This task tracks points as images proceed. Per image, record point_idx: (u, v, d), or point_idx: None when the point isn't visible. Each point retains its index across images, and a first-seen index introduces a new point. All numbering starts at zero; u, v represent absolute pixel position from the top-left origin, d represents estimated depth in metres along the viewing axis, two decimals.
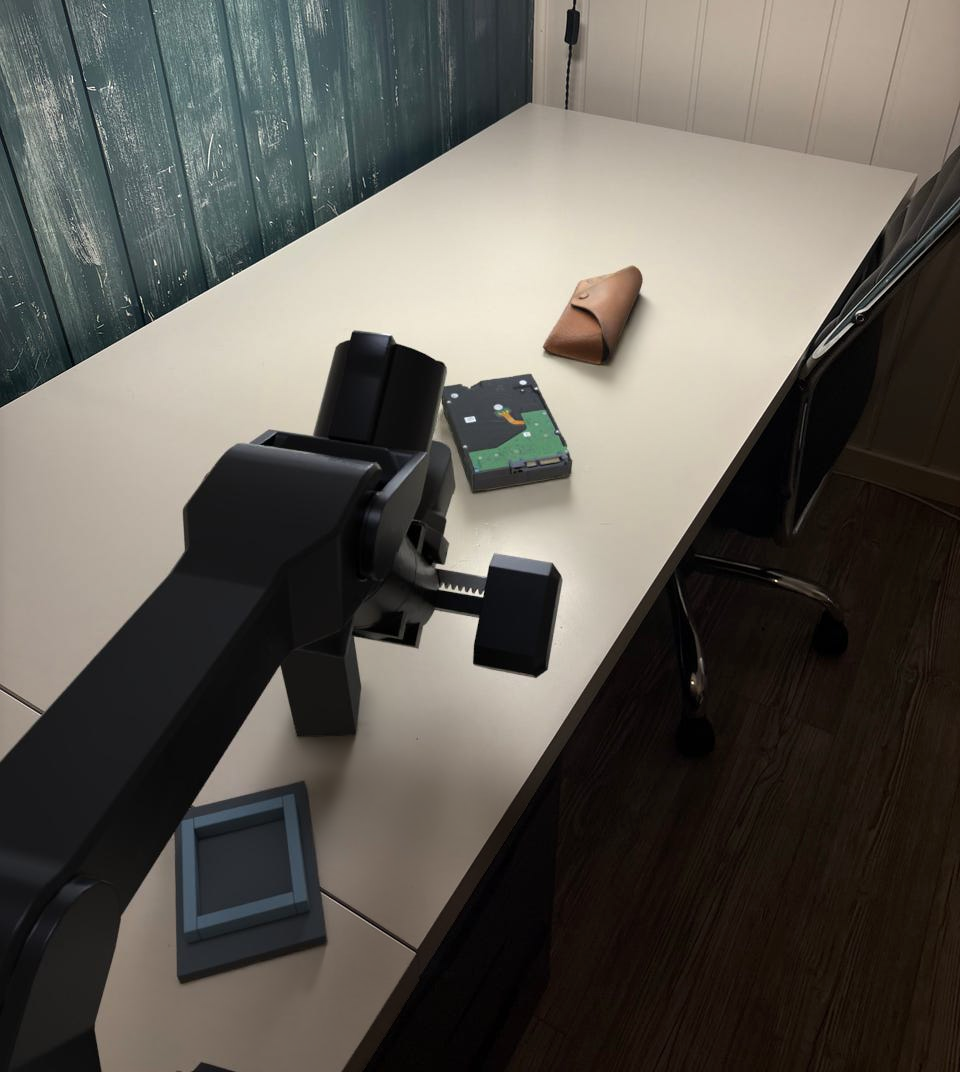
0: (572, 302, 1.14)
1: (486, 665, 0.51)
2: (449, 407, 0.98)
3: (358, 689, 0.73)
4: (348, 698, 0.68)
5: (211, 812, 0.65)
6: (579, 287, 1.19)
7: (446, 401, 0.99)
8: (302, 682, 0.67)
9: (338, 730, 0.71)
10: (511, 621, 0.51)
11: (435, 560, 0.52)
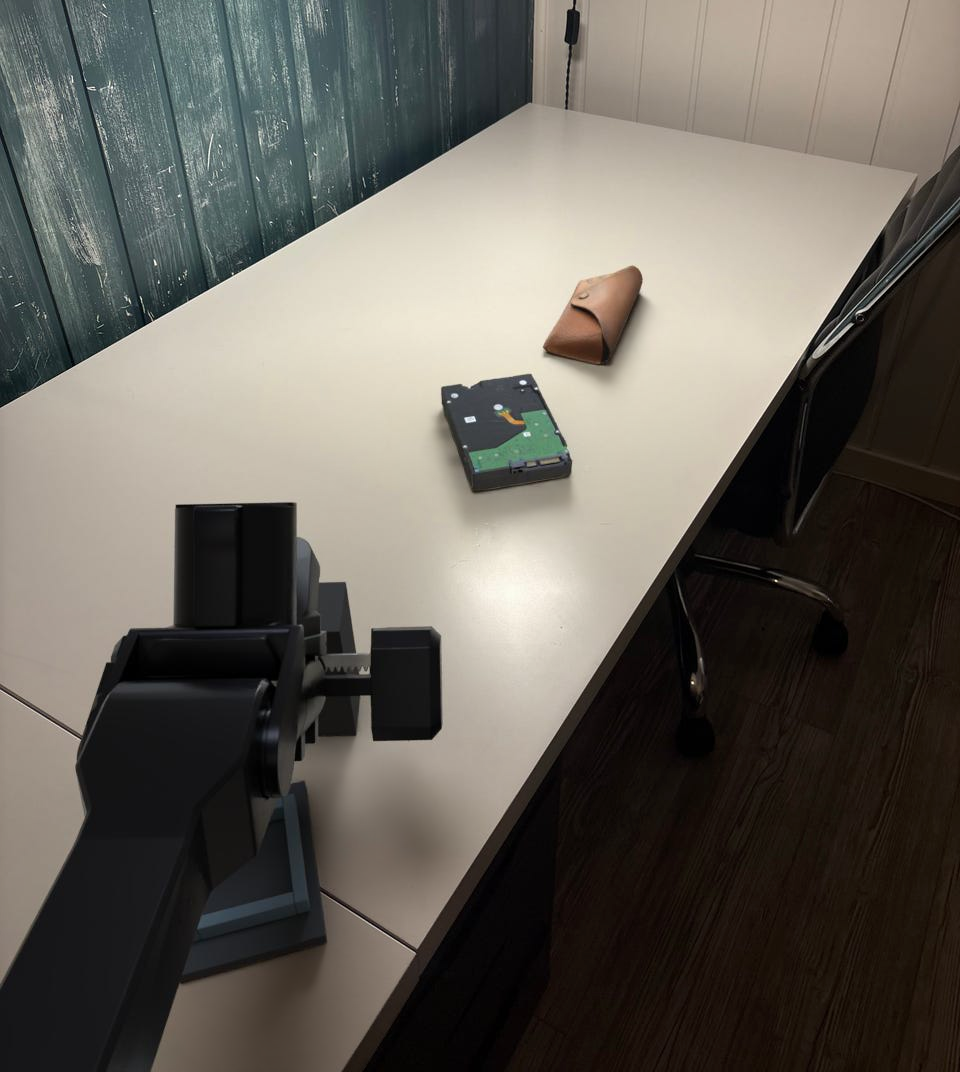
0: (572, 302, 1.14)
1: (386, 740, 0.54)
2: (449, 407, 0.98)
3: None
4: (348, 698, 0.68)
5: None
6: (579, 287, 1.19)
7: (446, 401, 0.99)
8: None
9: (338, 730, 0.71)
10: (402, 698, 0.53)
11: None
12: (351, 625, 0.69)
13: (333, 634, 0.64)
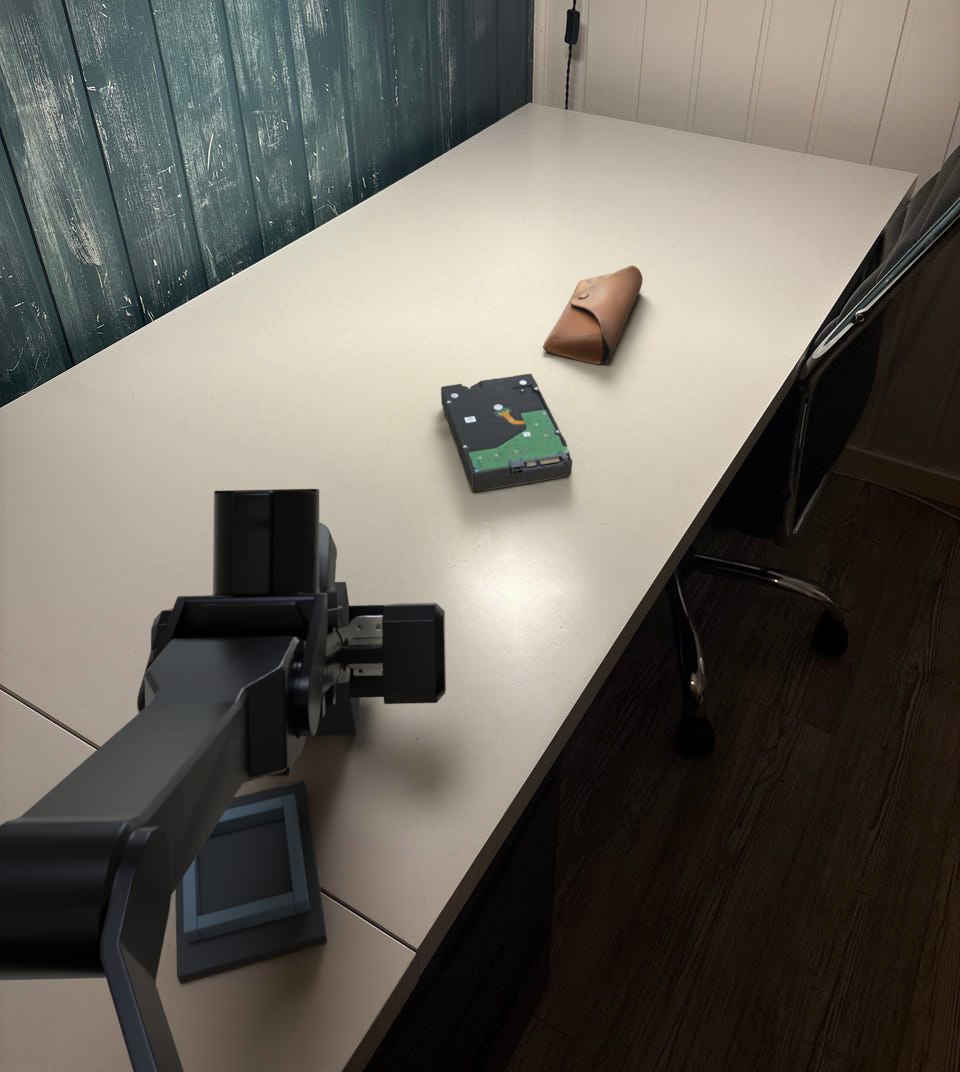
0: (572, 302, 1.14)
1: (396, 703, 0.60)
2: (449, 407, 0.98)
3: None
4: (348, 698, 0.68)
5: None
6: (579, 287, 1.19)
7: (446, 401, 0.99)
8: None
9: (338, 730, 0.71)
10: (410, 665, 0.60)
11: (335, 627, 0.59)
12: None
13: None
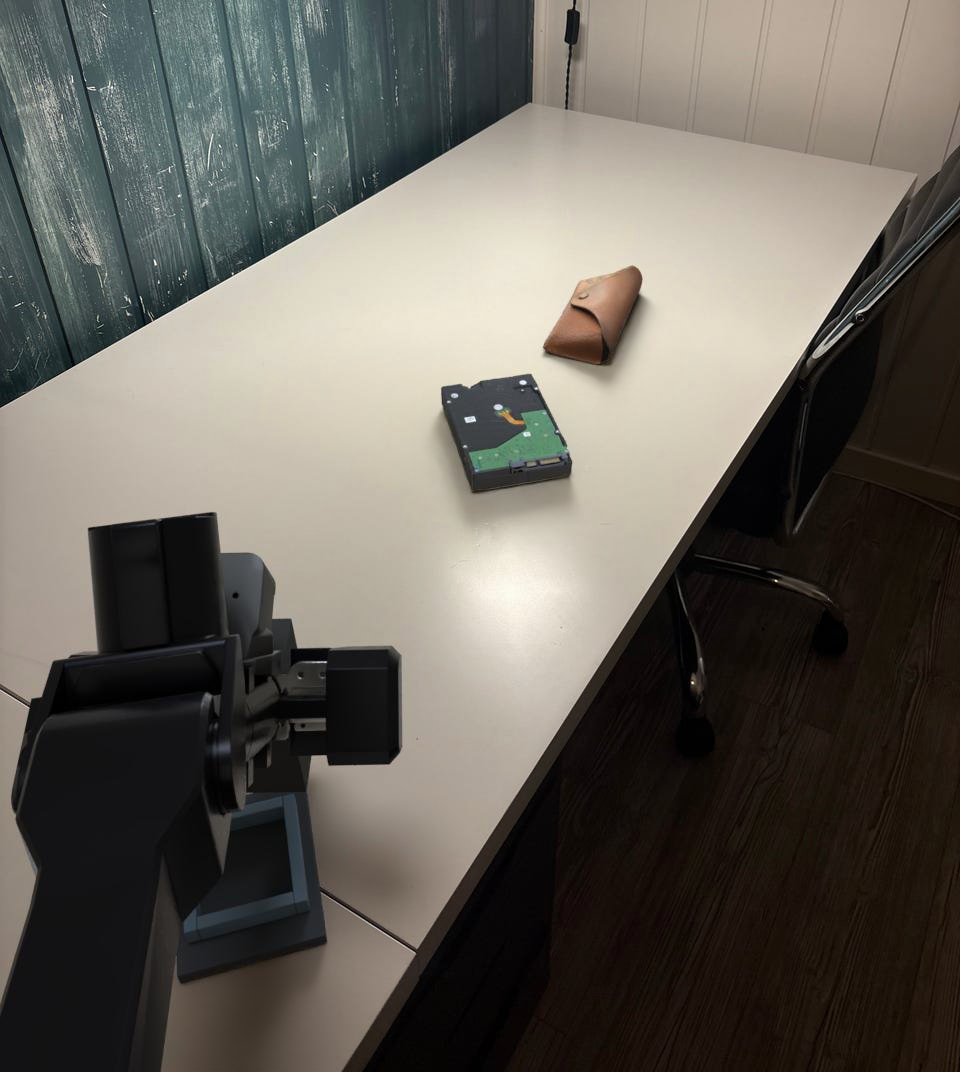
0: (572, 302, 1.14)
1: (342, 764, 0.52)
2: (449, 407, 0.98)
3: None
4: None
5: None
6: (579, 287, 1.19)
7: (446, 401, 0.99)
8: None
9: (285, 786, 0.62)
10: (358, 721, 0.51)
11: (270, 676, 0.51)
12: None
13: None
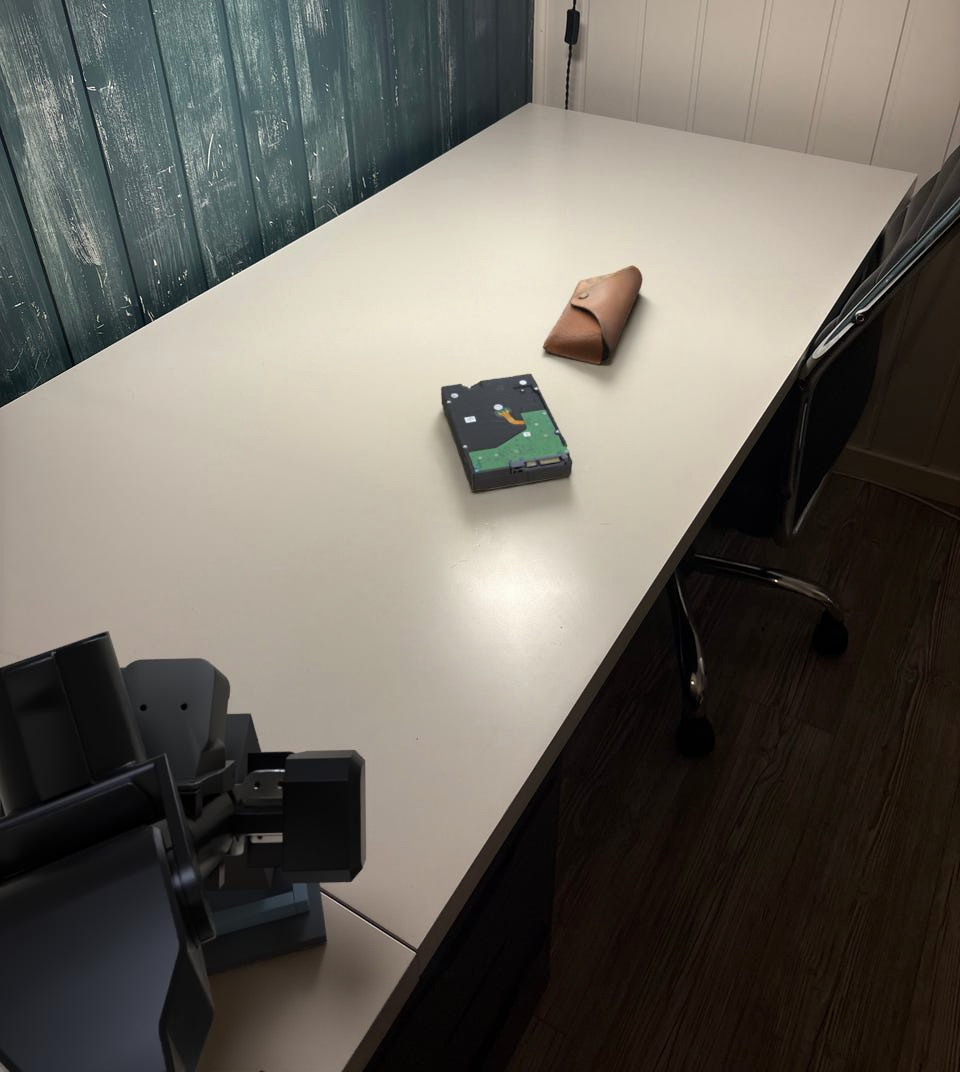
0: (572, 302, 1.14)
1: (300, 882, 0.48)
2: (449, 407, 0.98)
3: None
4: None
5: None
6: (579, 287, 1.19)
7: (446, 401, 0.99)
8: None
9: (248, 884, 0.59)
10: (317, 837, 0.48)
11: None
12: None
13: None
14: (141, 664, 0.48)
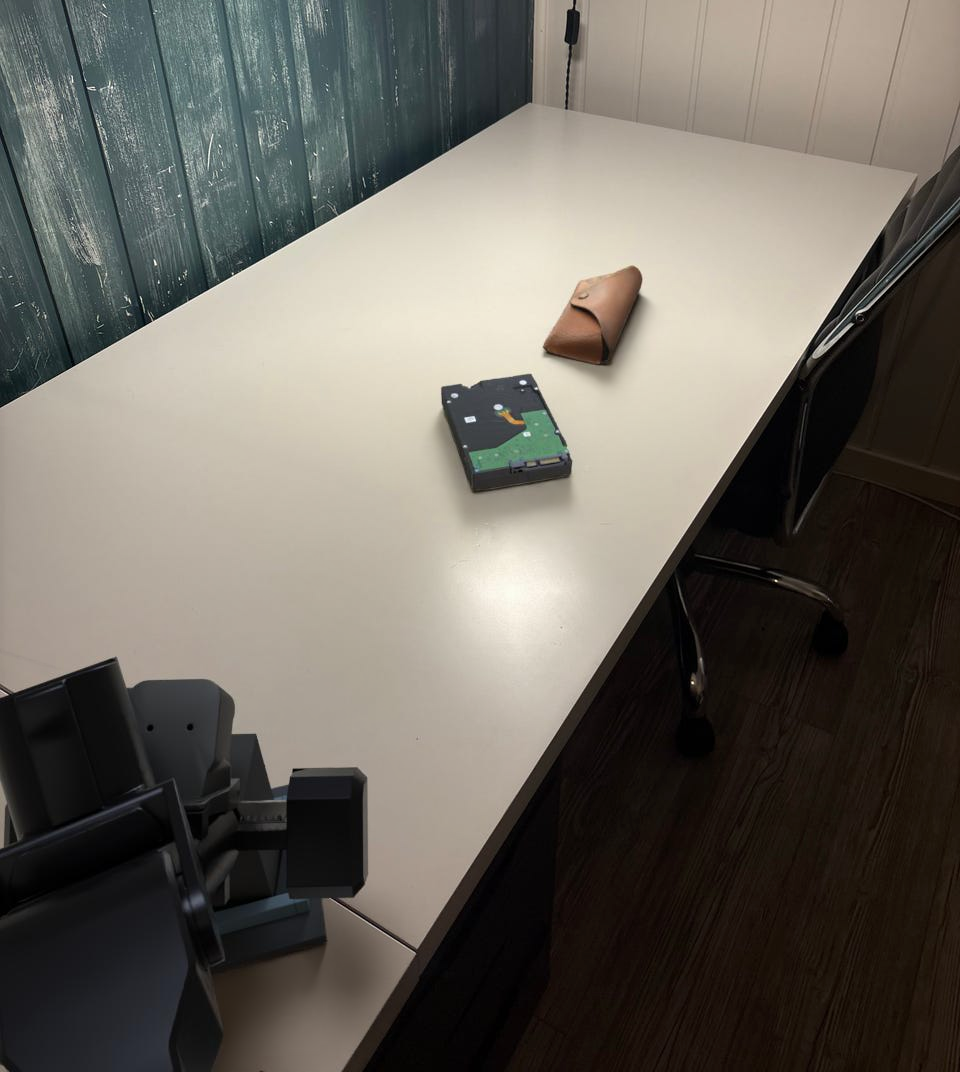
0: (572, 302, 1.14)
1: (304, 898, 0.49)
2: (449, 407, 0.98)
3: None
4: (260, 868, 0.57)
5: None
6: (579, 287, 1.19)
7: (446, 401, 0.99)
8: None
9: (252, 899, 0.60)
10: (320, 854, 0.49)
11: None
12: (266, 778, 0.59)
13: None
14: (147, 685, 0.48)
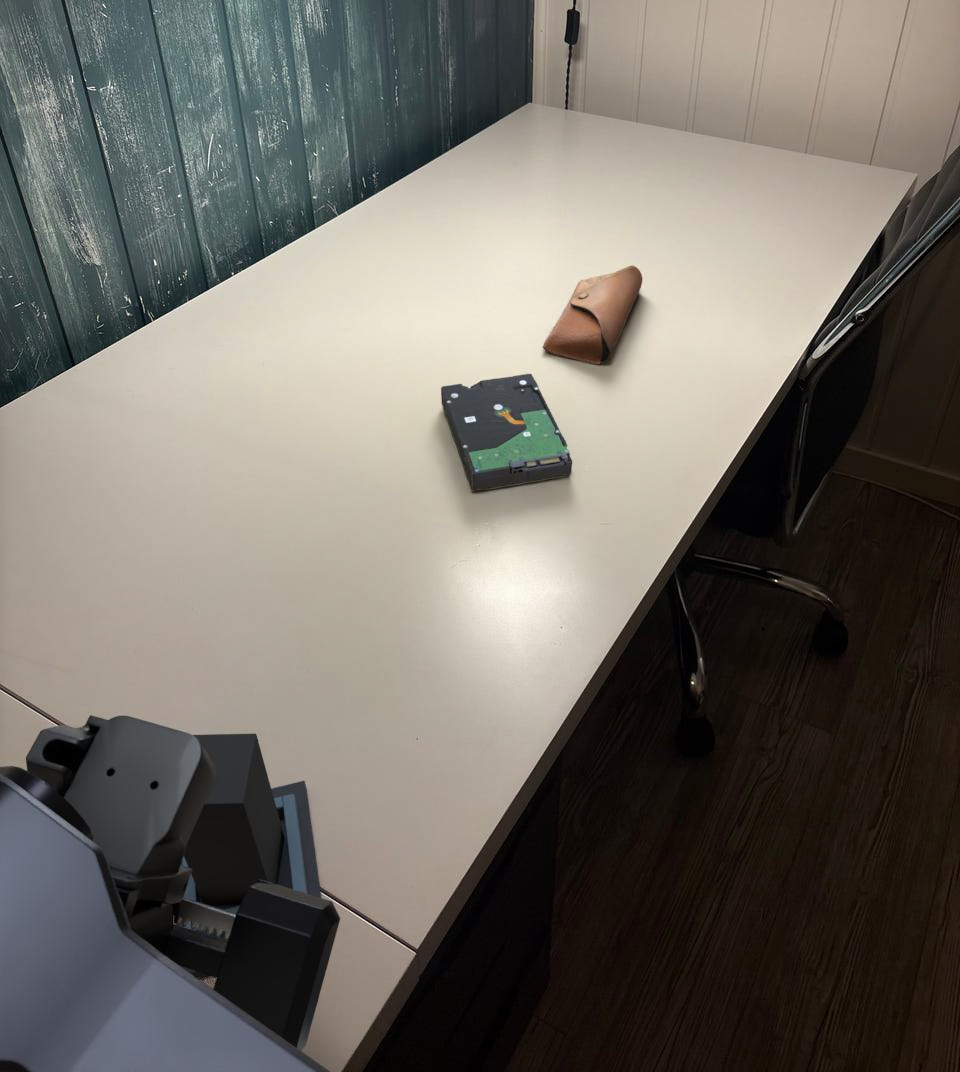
0: (572, 302, 1.14)
1: None
2: (449, 407, 0.98)
3: (279, 845, 0.62)
4: (260, 868, 0.57)
5: None
6: (579, 287, 1.19)
7: (446, 401, 0.99)
8: (204, 853, 0.56)
9: None
10: (255, 997, 0.39)
11: None
12: (266, 778, 0.59)
13: (235, 806, 0.53)
14: (125, 722, 0.41)
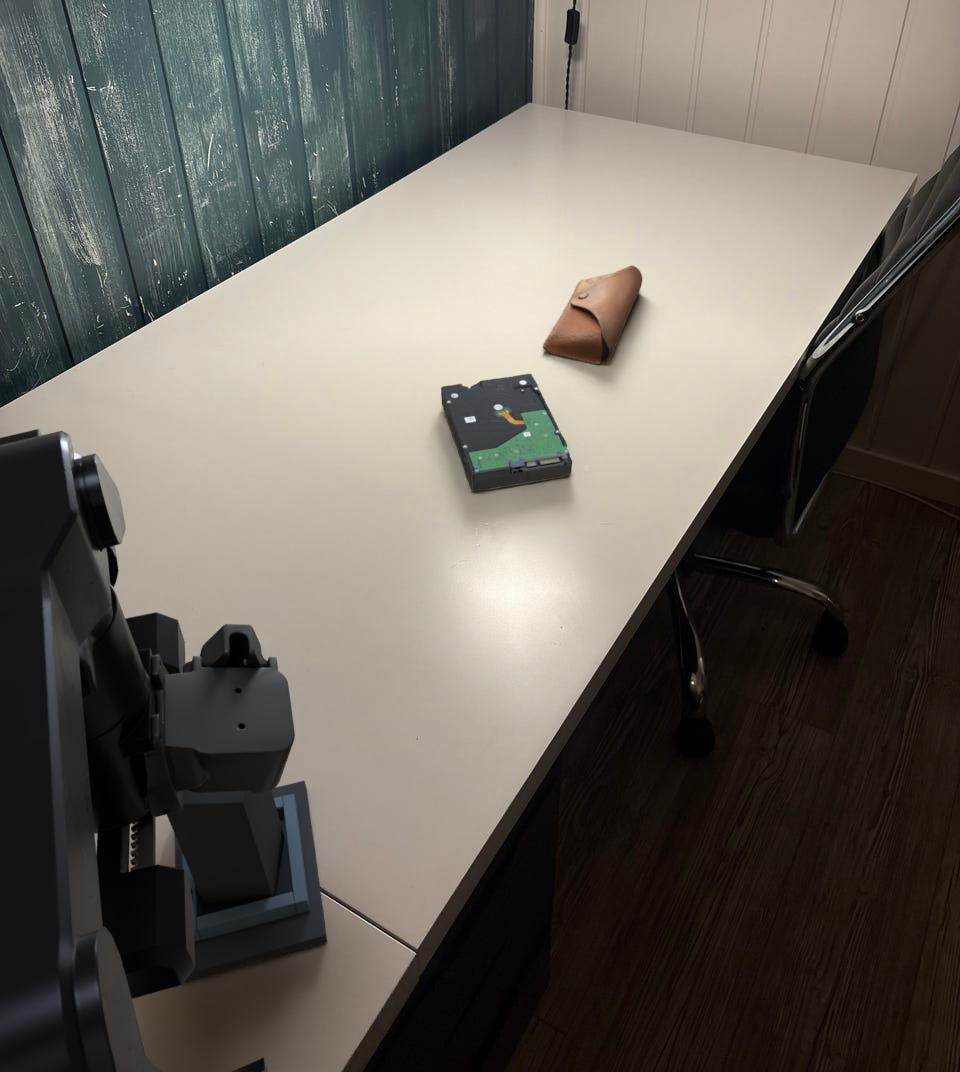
0: (572, 302, 1.14)
1: None
2: (449, 407, 0.98)
3: (279, 845, 0.62)
4: (260, 868, 0.57)
5: None
6: (579, 287, 1.19)
7: (446, 401, 0.99)
8: (204, 853, 0.56)
9: (252, 899, 0.60)
10: None
11: None
12: None
13: (235, 806, 0.53)
14: (282, 683, 0.45)
